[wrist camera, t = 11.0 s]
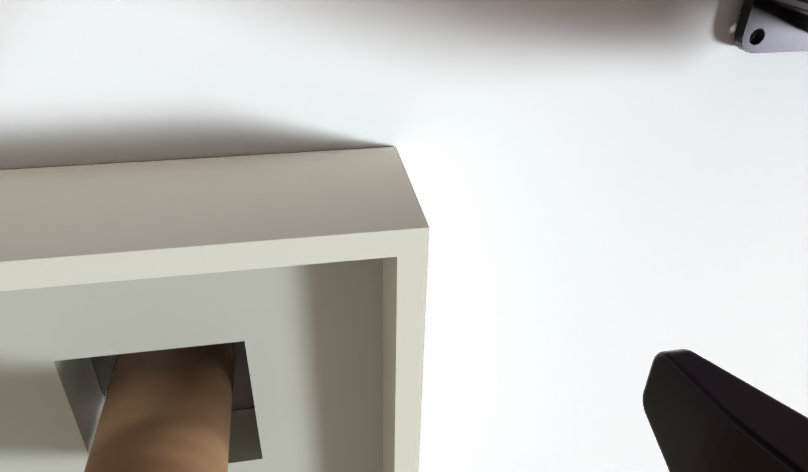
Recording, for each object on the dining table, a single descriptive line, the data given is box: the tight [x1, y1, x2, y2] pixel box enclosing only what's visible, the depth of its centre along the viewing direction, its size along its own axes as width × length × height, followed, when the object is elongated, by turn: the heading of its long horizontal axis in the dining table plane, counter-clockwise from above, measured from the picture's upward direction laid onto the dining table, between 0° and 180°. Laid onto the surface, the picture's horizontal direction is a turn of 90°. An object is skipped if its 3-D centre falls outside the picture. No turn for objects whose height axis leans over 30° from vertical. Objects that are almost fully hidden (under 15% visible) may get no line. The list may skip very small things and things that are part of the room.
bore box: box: [0, 147, 429, 472], centre depth 21 cm, size 16×16×5 cm
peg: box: [84, 343, 235, 472], centre depth 19 cm, size 4×4×9 cm
